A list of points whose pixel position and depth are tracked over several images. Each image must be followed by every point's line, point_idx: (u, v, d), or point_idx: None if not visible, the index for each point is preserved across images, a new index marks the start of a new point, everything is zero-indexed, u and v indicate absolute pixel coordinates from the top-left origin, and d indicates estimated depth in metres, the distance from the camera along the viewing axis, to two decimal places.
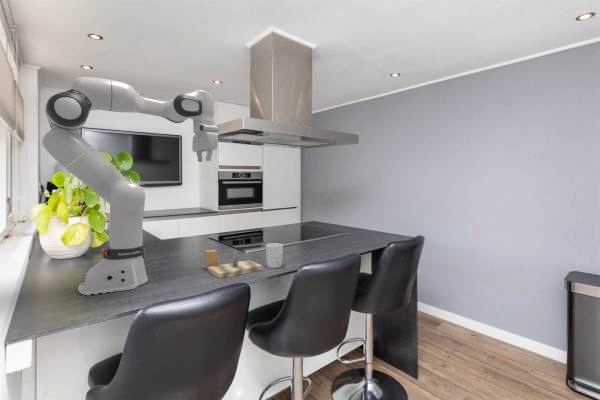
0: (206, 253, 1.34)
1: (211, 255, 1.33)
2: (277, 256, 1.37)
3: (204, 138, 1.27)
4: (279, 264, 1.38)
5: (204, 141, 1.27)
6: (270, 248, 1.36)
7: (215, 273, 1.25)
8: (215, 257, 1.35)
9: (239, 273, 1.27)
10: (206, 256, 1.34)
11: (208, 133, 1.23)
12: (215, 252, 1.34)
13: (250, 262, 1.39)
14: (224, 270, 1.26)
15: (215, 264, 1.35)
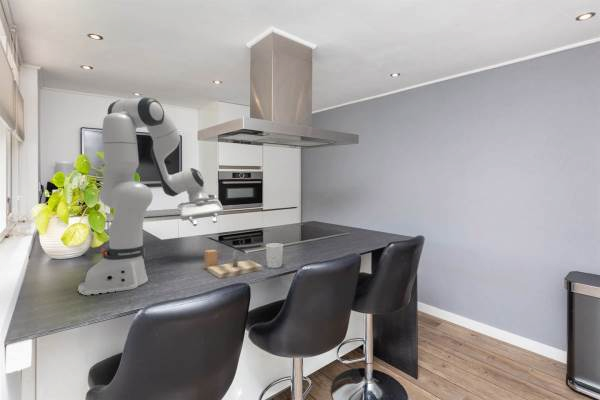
0: (206, 253, 1.34)
1: (211, 255, 1.33)
2: (277, 256, 1.37)
3: (210, 205, 1.50)
4: (279, 264, 1.38)
5: (211, 207, 1.49)
6: (270, 248, 1.36)
7: (215, 273, 1.25)
8: (215, 257, 1.35)
9: (239, 273, 1.27)
10: (206, 256, 1.34)
11: None
12: (215, 252, 1.34)
13: (250, 262, 1.39)
14: (224, 270, 1.26)
15: (215, 264, 1.35)
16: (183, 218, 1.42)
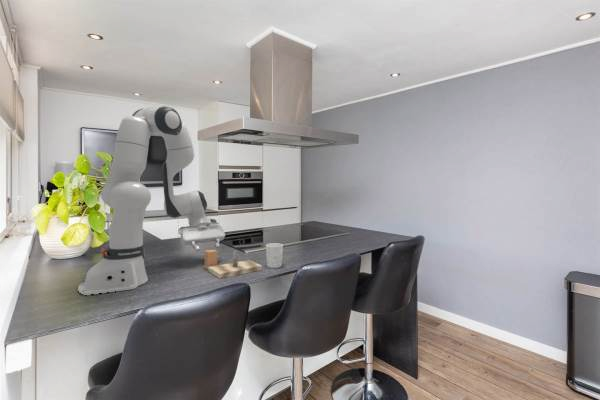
0: (206, 253, 1.34)
1: (211, 255, 1.33)
2: (277, 256, 1.37)
3: (211, 230, 1.45)
4: (279, 264, 1.38)
5: (213, 231, 1.44)
6: (270, 248, 1.36)
7: (215, 273, 1.25)
8: (215, 257, 1.35)
9: (239, 273, 1.27)
10: (206, 256, 1.34)
11: None
12: (215, 252, 1.34)
13: (250, 262, 1.39)
14: (224, 270, 1.26)
15: (215, 264, 1.35)
16: (185, 243, 1.35)
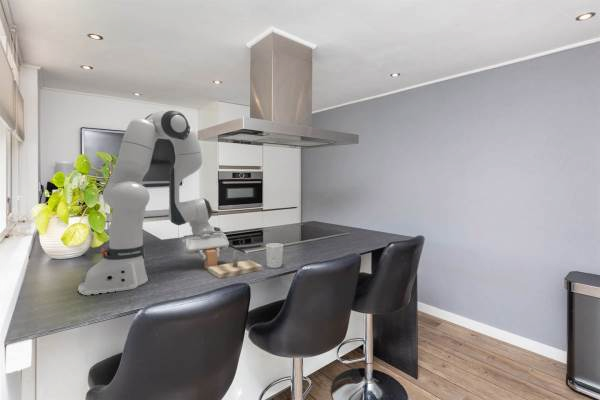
0: (206, 253, 1.34)
1: (211, 255, 1.33)
2: (277, 256, 1.37)
3: (215, 238, 1.41)
4: (279, 264, 1.38)
5: (217, 240, 1.41)
6: (270, 248, 1.36)
7: (215, 273, 1.25)
8: (215, 257, 1.35)
9: (239, 273, 1.27)
10: None
11: None
12: (215, 252, 1.34)
13: (250, 262, 1.39)
14: (224, 270, 1.26)
15: (215, 264, 1.35)
16: (188, 252, 1.31)
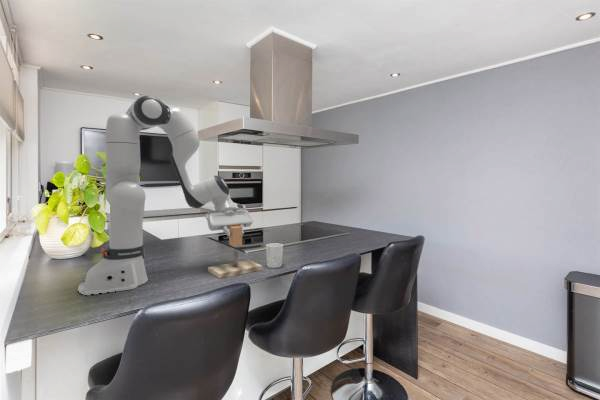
0: (231, 229, 1.30)
1: (236, 231, 1.29)
2: (277, 256, 1.37)
3: (239, 215, 1.37)
4: (279, 264, 1.38)
5: (241, 217, 1.37)
6: (270, 248, 1.36)
7: (215, 273, 1.25)
8: (240, 233, 1.31)
9: (239, 273, 1.27)
10: None
11: None
12: (240, 228, 1.30)
13: (250, 262, 1.39)
14: (224, 270, 1.26)
15: (240, 240, 1.31)
16: (213, 228, 1.28)
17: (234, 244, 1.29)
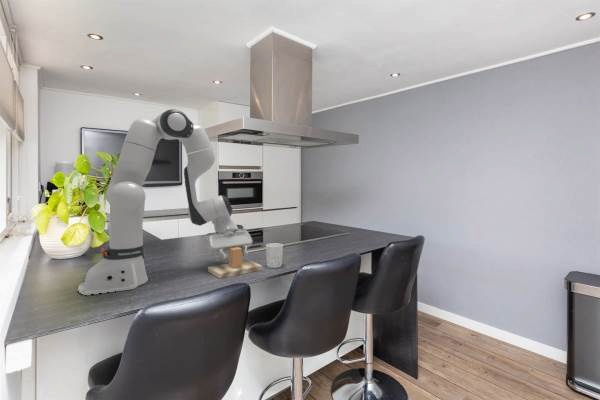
0: (231, 251, 1.30)
1: (236, 253, 1.30)
2: (277, 256, 1.37)
3: (238, 236, 1.38)
4: (279, 264, 1.38)
5: (241, 238, 1.37)
6: (270, 248, 1.36)
7: (215, 273, 1.25)
8: (240, 255, 1.31)
9: (239, 273, 1.27)
10: (231, 254, 1.30)
11: None
12: (240, 250, 1.31)
13: (250, 262, 1.39)
14: (224, 270, 1.26)
15: (240, 262, 1.31)
16: (213, 250, 1.28)
17: (234, 266, 1.30)
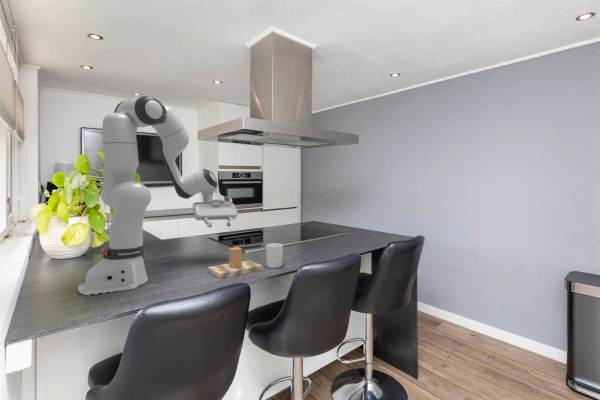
0: (231, 251, 1.30)
1: (236, 253, 1.30)
2: (277, 256, 1.37)
3: (225, 207, 1.46)
4: (279, 264, 1.38)
5: (226, 210, 1.46)
6: (270, 248, 1.36)
7: (215, 273, 1.25)
8: (240, 255, 1.31)
9: (239, 273, 1.27)
10: (231, 254, 1.30)
11: None
12: (240, 250, 1.31)
13: (250, 262, 1.39)
14: (224, 270, 1.26)
15: (240, 262, 1.31)
16: (198, 218, 1.37)
17: (234, 266, 1.30)
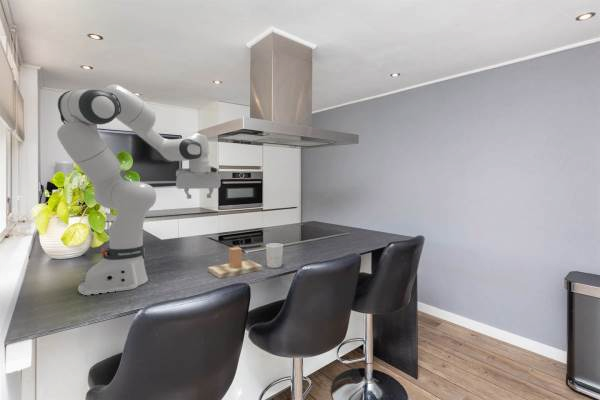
0: (231, 251, 1.30)
1: (236, 253, 1.30)
2: (277, 256, 1.37)
3: (209, 178, 1.43)
4: (279, 264, 1.38)
5: (210, 181, 1.43)
6: (270, 248, 1.36)
7: (215, 273, 1.25)
8: (240, 255, 1.31)
9: (239, 273, 1.27)
10: (231, 254, 1.30)
11: None
12: (240, 250, 1.31)
13: (250, 262, 1.39)
14: (224, 270, 1.26)
15: (240, 262, 1.31)
16: (179, 188, 1.35)
17: (234, 266, 1.30)
